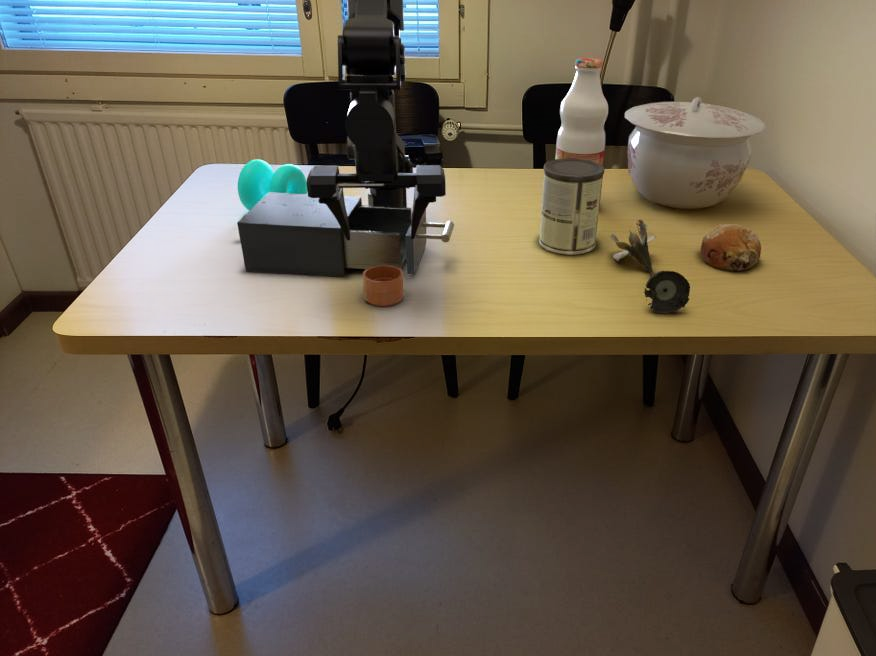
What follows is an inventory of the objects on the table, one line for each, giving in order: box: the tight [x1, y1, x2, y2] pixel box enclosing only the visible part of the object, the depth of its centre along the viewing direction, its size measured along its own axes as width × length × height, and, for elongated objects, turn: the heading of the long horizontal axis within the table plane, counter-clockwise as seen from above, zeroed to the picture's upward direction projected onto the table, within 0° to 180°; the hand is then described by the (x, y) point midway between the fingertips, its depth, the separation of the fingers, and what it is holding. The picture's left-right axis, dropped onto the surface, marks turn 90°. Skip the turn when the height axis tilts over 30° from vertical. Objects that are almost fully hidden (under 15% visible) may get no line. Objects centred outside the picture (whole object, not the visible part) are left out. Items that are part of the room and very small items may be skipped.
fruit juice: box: [554, 57, 609, 166], centre depth 133 cm, size 9×9×28 cm
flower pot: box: [362, 265, 405, 307], centre depth 104 cm, size 6×6×4 cm
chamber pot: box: [624, 96, 767, 210], centre depth 141 cm, size 28×28×21 cm
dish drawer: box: [342, 204, 455, 276], centre depth 114 cm, size 21×13×7 cm, turn 85°
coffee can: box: [538, 158, 606, 256], centre depth 120 cm, size 10×10×14 cm
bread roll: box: [700, 223, 762, 272], centre depth 119 cm, size 10×10×8 cm
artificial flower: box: [609, 219, 691, 315], centre depth 110 cm, size 9×22×10 cm, turn 179°
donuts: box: [237, 158, 308, 212], centre depth 131 cm, size 10×10×10 cm
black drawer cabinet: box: [236, 192, 363, 278], centre depth 115 cm, size 16×14×8 cm
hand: (380, 238), depth 100 cm, fingers open, 9 cm apart
